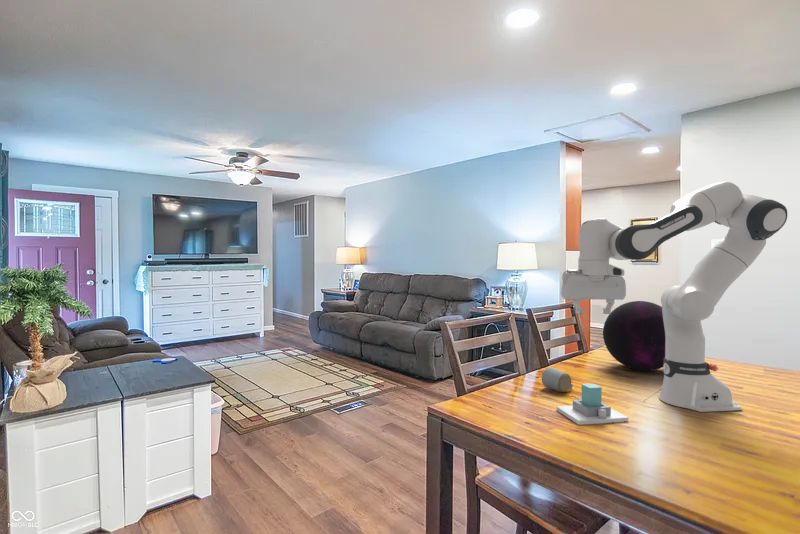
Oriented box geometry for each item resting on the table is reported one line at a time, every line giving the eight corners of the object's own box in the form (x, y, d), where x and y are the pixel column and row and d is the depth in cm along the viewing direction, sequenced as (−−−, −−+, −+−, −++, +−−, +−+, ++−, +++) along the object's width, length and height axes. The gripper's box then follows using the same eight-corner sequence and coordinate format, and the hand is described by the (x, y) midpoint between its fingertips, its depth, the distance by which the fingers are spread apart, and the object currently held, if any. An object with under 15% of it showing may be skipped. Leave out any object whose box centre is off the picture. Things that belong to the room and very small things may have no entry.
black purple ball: (699, 379, 167) (700, 304, 166) (624, 378, 167) (624, 304, 167) (654, 361, 197) (655, 298, 196) (590, 361, 197) (591, 297, 197)
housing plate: (601, 407, 135) (601, 395, 135) (628, 421, 122) (629, 409, 122) (556, 409, 132) (556, 398, 132) (579, 425, 120) (579, 412, 120)
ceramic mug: (559, 394, 147) (560, 373, 147) (541, 388, 154) (541, 367, 154) (578, 390, 153) (579, 369, 153) (559, 384, 160) (560, 364, 160)
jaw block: (593, 409, 129) (593, 383, 129) (601, 413, 126) (601, 387, 125) (581, 409, 129) (581, 384, 129) (589, 414, 125) (589, 388, 125)
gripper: (568, 269, 126) (567, 314, 126) (629, 270, 129) (629, 315, 129) (557, 269, 132) (557, 313, 132) (615, 270, 136) (615, 313, 135)
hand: (593, 314), depth 131 cm, fingers open, 8 cm apart
